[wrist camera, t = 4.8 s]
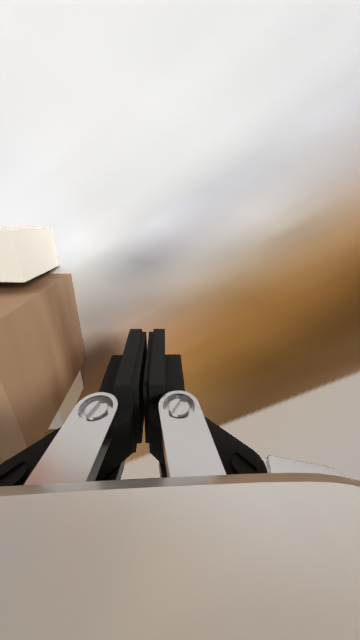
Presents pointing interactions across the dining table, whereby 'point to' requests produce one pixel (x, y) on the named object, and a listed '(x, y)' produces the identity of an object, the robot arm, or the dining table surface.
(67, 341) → the walnut block
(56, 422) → the chute rail
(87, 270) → the dining table surface
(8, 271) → the chute rail
